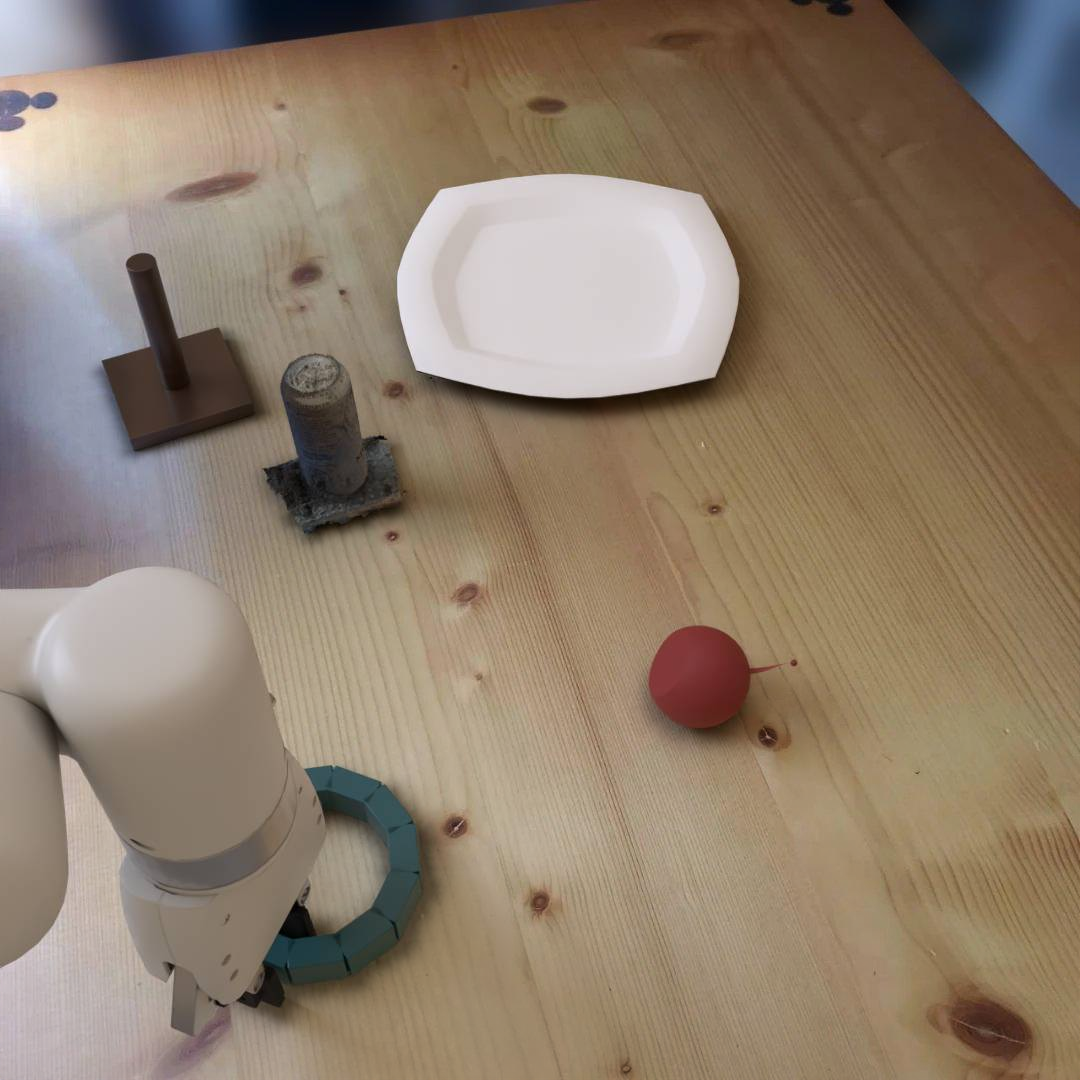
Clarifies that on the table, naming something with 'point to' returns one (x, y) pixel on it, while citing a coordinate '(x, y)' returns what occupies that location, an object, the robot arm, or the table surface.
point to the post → (172, 371)
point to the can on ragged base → (330, 449)
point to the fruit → (701, 676)
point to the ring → (392, 904)
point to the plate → (568, 287)
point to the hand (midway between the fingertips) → (272, 961)
